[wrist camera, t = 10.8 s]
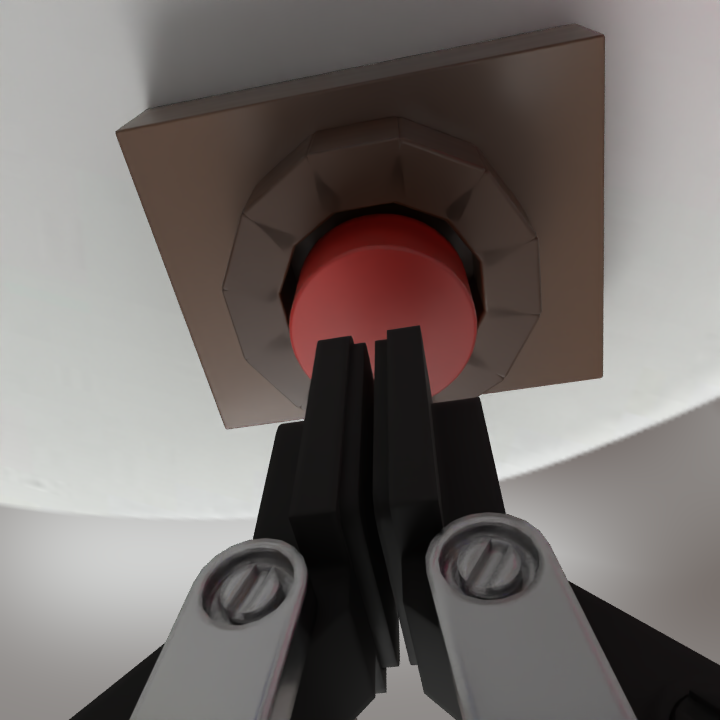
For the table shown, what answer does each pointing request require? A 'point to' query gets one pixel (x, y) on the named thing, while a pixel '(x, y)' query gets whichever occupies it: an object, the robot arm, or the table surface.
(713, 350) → the table surface
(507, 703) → the robot arm
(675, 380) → the table surface
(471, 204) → the button block
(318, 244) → the red button
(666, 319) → the table surface
